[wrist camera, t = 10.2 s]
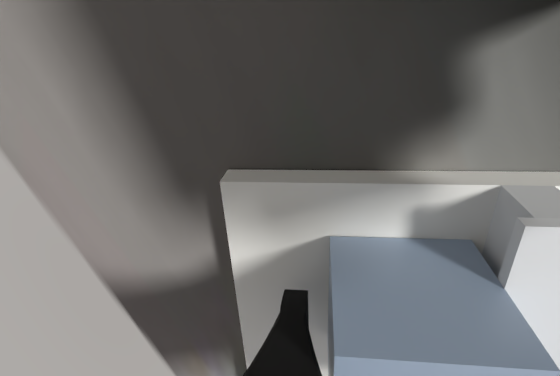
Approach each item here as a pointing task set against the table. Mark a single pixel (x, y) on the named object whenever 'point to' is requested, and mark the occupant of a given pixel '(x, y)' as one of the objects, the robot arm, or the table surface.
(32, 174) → the table surface
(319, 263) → the rail board
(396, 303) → the block
